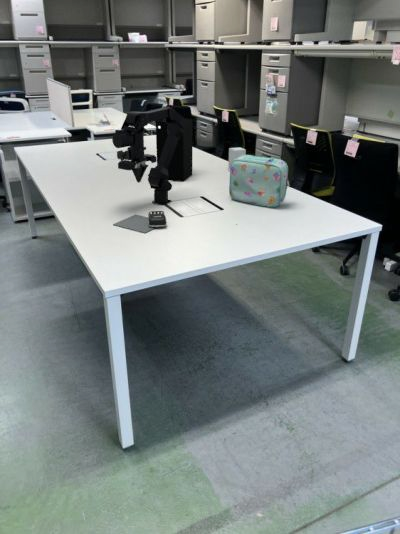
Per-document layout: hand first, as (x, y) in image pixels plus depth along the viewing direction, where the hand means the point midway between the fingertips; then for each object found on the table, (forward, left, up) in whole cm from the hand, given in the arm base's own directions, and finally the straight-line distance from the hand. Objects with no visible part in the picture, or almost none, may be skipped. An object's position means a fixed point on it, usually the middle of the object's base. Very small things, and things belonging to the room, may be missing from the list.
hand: (138, 182), depth 185 cm
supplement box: (-84, +4, -12) cm, 85 cm away
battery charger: (+6, +13, -10) cm, 17 cm away
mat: (+14, +11, -12) cm, 21 cm away
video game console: (-52, -17, -12) cm, 56 cm away
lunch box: (-37, +39, -12) cm, 55 cm away
